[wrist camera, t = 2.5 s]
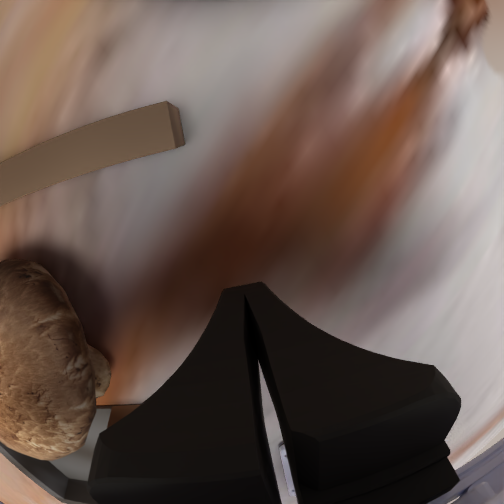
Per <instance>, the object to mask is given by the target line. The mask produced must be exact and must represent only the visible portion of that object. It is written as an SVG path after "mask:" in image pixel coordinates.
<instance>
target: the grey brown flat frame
mask: <svg viewBox="0 0 504 504" xmlns="http://www.w3.org/2000/svg"><path fill="white" fill-rule="evenodd" d="M183 145H185V140H184V135H183V130H182V125H181V119H180V114H179V109H178V108H177V107H175V106H174V105H172V104H171V103H169V102H167V101H165V102H161V103H157V104H153V105H149V106H145V107H142V108H138V109H135V110H131V111H128V112H125V113H121V114H118V115H115V116H112V117H109V118H106V119H103V120H100V121H97V122H94V123H91V124H88V125H86V126H83V127H80V128H78V129H75V130H72V131H70V132H67V133H65V134H62V135H60V136H57V137H55V138H53V139H50V140H48V141H46V142H43V143H41V144H39V145H37V146H34V147H32V148H30V149H28V150H26V151H24V152H22V153H20V154H17V155H15V156H13V157H11V158H9V159H8V160H6V161H4V162H2V163H0V206H2V205H4V204H7V203H9V202H11V201H14V200H16V199H18V198H21V197H23V196H26V195H28V194H31V193H33V192H36V191H38V190H41V189H43V188H46V187H49V186H51V185H54V184H57V183H60V182H62V181H65V180H68V179H71V178H74V177H77V176H80V175H83V174H86V173H89V172H92V171H95V170H98V169H102V168H105V167H108V166H112V165H115V164H118V163H122V162H125V161H129V160H132V159H136V158H140V157H144V156H147V155H151V154H155V153H159V152H163V151H167V150H172V149H176V148H178V147H180V146H183ZM140 405H141V404H138V405H119V406H96V411H97V412H96V414H95V417H94V419H93V422H92V424H91V427H90V429H89V432H88V435H87V439H86V442H85V445H83V446H82V447H81V448H80V449H78V450H77V451H75V452H73V453H71V454H69V455H67V456H65V457H63V458H60V459H56V460H53V461H49V460H40V459H37V458H34V457H31V456H27V455H25V454H22V453H19V452H16V451H14V450H12V449H10V448H8V447H7V446H5V445H4V444H3V443H1V442H0V452H1V453H2V454H3V455H4V456H5V457H6V458H7V459H8V460H9V461H10V462H11V463H12V464H14V465H15V466H16V467H17V468H18V469H19V470H20V471H22V472H23V473H24V474H25V475H26V476H28V477H29V478H30V479H31V480H33V481H34V482H35V483H36V484H38V485H39V486H40V487H41V488H43V489H44V490H45V491H47V492H48V493H49V494H51V495H52V496H54V497H55V498H56V499H58V500H59V501H61V502H63V503H67V504H98V503H97V502H96V501H95V500H94V499H93V498H92V497H91V496H90V494H89V493H88V491H87V489H86V487H87V482H88V477H89V472H90V467H91V462H92V457H93V452H94V448H95V445H96V442H97V439H98V436H99V433H101V432H102V431H104V430H106V429H107V428H109V427H110V426H112V425H113V424H115V423H116V422H118V421H119V420H121V419H122V418H124V417H125V416H127V415H128V414H129V413H131V412H132V411H133V410H135V409H136V408H137V407H139V406H140Z"/></svg>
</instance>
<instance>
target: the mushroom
mask: <svg viewBox="0 0 504 504" xmlns="http://www.w3.org/2000/svg"><path fill="white" fill-rule="evenodd" d="M110 379H111V371H110V367H109V363H108V361H107V360H106V358H105V357H104V356H103V355H102V354H101V353H100V351H98V350H97V349H95V348H93V347H92V346H90V345H88V344H87V342H86V338H85V334H84V330H83V326H82V324H81V322H80V320H79V318H78V316H77V315H76V313H75V311H74V309H73V307H72V305H71V303H70V301H69V299H68V297H67V295H66V292H65V290H64V289H63V288H62V287H61V286H60V285H59V284H58V282H57V281H56V280H55V279H54V278H53V277H52V276H51V275H50V273H49V272H48V271H47V270H46V269H45V268H44V267H42V266H41V265H40V264H39V263H36V262H33V261H28V260H18V259H12V260H4V261H2V262H0V442H1V443H3V444H4V445H5V446H7V447H8V448H10V449H12V450H14V451H16V452H19V453H22V454H25V455H27V456H31V457H34V458H37V459H40V460H49V461H53V460H56V459H60V458H63V457H65V456H67V455H69V454H71V453H73V452H75V451H77V450H78V449H80V448H81V447H82V446H83V445H85V442H86V439H87V435H88V432H89V429H90V427H91V424H92V422H93V419H94V417H95V414H96V412H97V411H96V398H98V397H100V396H103V395H104V393H105V392H106V390H107V388H108V387H109V384H110Z"/></svg>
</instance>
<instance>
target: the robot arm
mask: <svg viewBox="0 0 504 504" xmlns="http://www.w3.org/2000/svg"><path fill="white" fill-rule="evenodd" d="M258 360H259V363H260V366H261V369H262V372H263V375H264V378H265V381H266V384H267V387H268V390H269V393H270V396H271V399H272V402H273V405H274V408H275V410H276V414H277V417H278V421H279V425H280V429H281V433H282V437H283V442H284V445H282V446H281V447H280V448H279V452H280V456H281V461H282V465H283V470H284V474H285V478H286V483H287V487H288V492H289V495H290V496H296V498H297V502H298V504H447V503H448V502H450V501H452V500H454V499H456V498H457V497H459V496H460V495H461V496H460V497H459V499H457V500H456V501H454V502H453V503H451V504H504V438H503V439H501V440H500V441H499V442H497V443H496V444H494V445H493V446H492V447H491V448H489V449H487V450H486V451H485V452H483V453H482V454H480V455H479V456H477V457H476V458H474V459H473V460H471V461H470V462H468V463H466V464H465V465H463V466H462V467H460V468H458V469H457V470H454V468H453V467H452V465H451V463H450V461H449V460H448V458H447V456H449V455H450V449H449V447H448V446H447V444H446V442H445V441H444V440H445V438H446V436H447V435H448V433H449V431H450V429H451V428H452V426H453V424H454V422H455V421H456V419H457V416H458V414H459V411H460V408H461V398H460V397H459V395H458V394H457V393H456V391H455V390H454V389H453V387H452V386H451V384H450V383H449V382H448V380H447V379H446V378H445V377H444V376H443V375H442V374H441V372H440V371H439V370H438V369H437V368H436V367H435V366H434V365H428V364H422V363H417V362H411V361H405V360H400V359H395V358H391V357H388V356H384V355H381V354H377V353H374V352H371V351H368V350H365V349H362V348H359V347H357V346H354V345H352V344H349V343H347V342H344V341H342V340H340V339H338V338H336V337H333V336H331V335H330V334H328V333H326V332H324V331H322V330H320V329H319V328H317V327H315V326H314V325H312V324H311V323H309V322H308V321H306V320H305V319H304V318H302V317H301V316H299V315H298V314H297V313H295V312H294V311H293V310H292V309H291V308H289V307H288V306H287V305H286V304H285V303H283V302H282V301H281V300H280V299H279V298H278V297H277V296H276V295H275V294H274V293H273V292H272V291H271V290H270V289H269V288H268V287H267V286H266V284H264V283H263V282H257V283H252V284H247V285H242V286H237V287H232V288H226V289H224V290H223V292H222V293H221V296H220V299H219V302H218V304H217V307H216V309H215V311H214V313H213V315H212V317H211V319H210V321H209V323H208V325H207V327H206V329H205V331H204V332H203V334H202V336H201V337H200V339H199V341H198V342H197V344H196V345H195V347H194V348H193V350H192V351H191V353H190V354H189V356H188V357H187V358H186V360H185V361H184V362H183V363H182V365H181V366H180V367H179V368H178V369H177V371H176V372H175V373H174V374H173V375H172V376H171V377H170V378H169V379H168V380H167V381H166V382H165V383H164V384H163V385H162V386H161V387H160V388H159V389H158V390H157V391H156V392H155V393H154V394H153V395H152V396H151V397H149V398H148V399H147V400H146V401H145V402H143V403H142V404H141V405H140V406H139V407H137V408H136V409H135V410H133V411H132V412H131V413H129V414H128V415H127V416H125V417H124V418H122V419H121V420H119V421H118V422H116V423H115V424H113V425H112V426H110V427H109V428H107V429H106V430H104V431H102V432H101V433H99V436H98V439H97V442H96V445H95V448H94V452H93V457H92V462H91V467H90V472H89V477H88V482H87V487H86V489H87V491H88V493H89V494H90V496H91V497H92V498H93V499H94V500H95V501H96V502H97V503H98V504H282V503H281V499H280V494H279V490H278V485H277V481H276V476H275V472H274V467H273V462H272V458H271V453H270V448H269V443H268V438H267V434H266V429H265V423H264V416H263V407H262V396H261V385H260V374H259V364H258ZM0 504H4V503H2V502H1V501H0Z"/></svg>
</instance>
